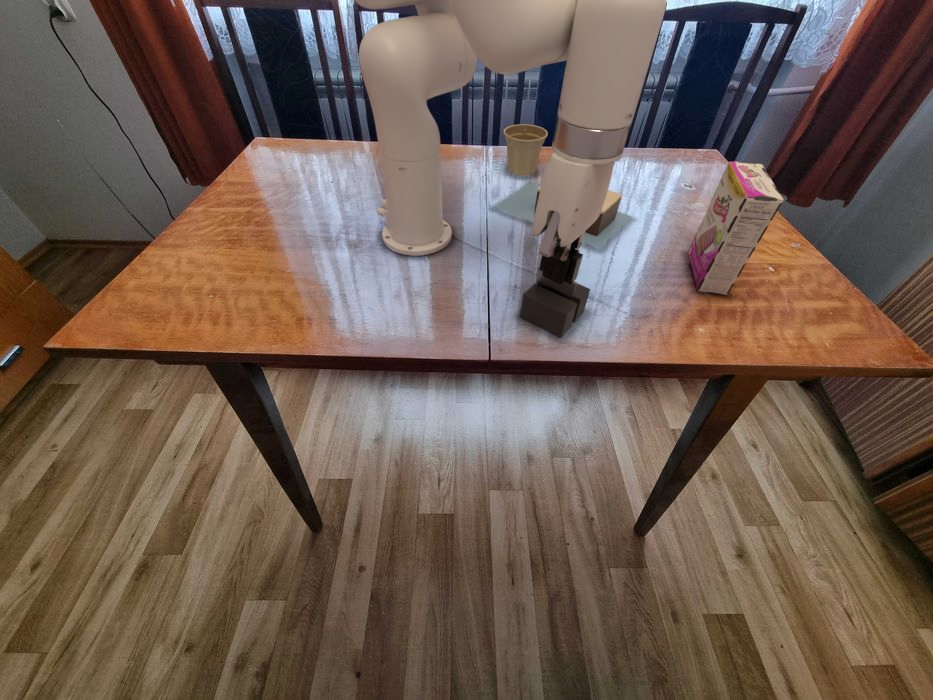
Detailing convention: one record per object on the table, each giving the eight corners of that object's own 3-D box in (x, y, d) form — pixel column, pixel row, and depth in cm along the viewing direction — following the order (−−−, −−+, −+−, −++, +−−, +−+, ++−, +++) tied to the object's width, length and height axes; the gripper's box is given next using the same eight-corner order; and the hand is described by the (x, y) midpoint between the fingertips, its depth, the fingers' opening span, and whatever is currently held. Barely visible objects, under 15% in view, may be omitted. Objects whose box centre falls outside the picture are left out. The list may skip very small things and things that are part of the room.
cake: (558, 222, 80) (563, 197, 76) (578, 206, 84) (583, 181, 80) (596, 236, 76) (603, 211, 73) (615, 219, 81) (622, 194, 77)
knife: (530, 295, 62) (540, 244, 55) (536, 290, 63) (546, 238, 56) (566, 313, 60) (580, 261, 53) (571, 307, 61) (586, 255, 54)
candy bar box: (684, 253, 74) (727, 159, 62) (714, 256, 73) (764, 162, 61) (694, 292, 67) (746, 195, 55) (728, 297, 66) (787, 199, 54)
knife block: (519, 317, 62) (522, 293, 59) (543, 293, 66) (548, 270, 63) (561, 338, 59) (567, 314, 56) (583, 312, 63) (590, 289, 60)
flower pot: (494, 165, 98) (497, 126, 91) (531, 161, 100) (536, 121, 93) (509, 183, 92) (513, 142, 85) (548, 178, 94) (555, 137, 87)
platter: (493, 209, 84) (493, 206, 83) (530, 184, 91) (530, 181, 91) (598, 250, 74) (599, 247, 74) (630, 219, 82) (631, 216, 81)
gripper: (591, 107, 50) (561, 240, 63) (519, 149, 41) (502, 292, 55) (652, 123, 47) (606, 259, 61) (588, 171, 38) (552, 317, 52)
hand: (557, 274), depth 58 cm, fingers closed on knife, 1 cm apart
